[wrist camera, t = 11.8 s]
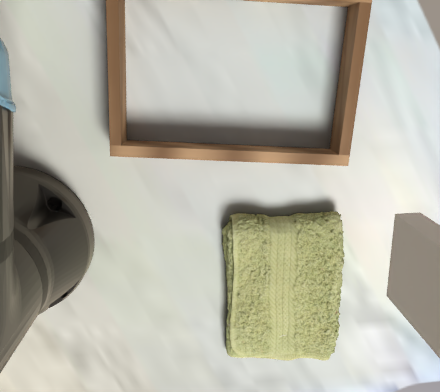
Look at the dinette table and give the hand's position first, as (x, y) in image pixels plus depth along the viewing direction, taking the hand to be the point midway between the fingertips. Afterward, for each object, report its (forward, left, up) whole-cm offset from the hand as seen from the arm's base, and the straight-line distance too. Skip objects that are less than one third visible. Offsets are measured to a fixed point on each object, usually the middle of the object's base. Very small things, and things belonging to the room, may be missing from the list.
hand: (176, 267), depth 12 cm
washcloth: (+10, -17, -30) cm, 36 cm away
